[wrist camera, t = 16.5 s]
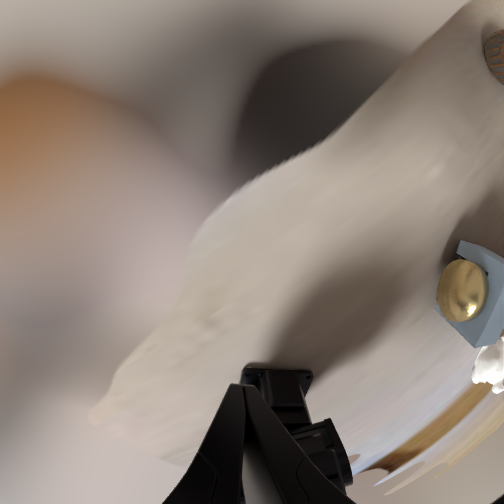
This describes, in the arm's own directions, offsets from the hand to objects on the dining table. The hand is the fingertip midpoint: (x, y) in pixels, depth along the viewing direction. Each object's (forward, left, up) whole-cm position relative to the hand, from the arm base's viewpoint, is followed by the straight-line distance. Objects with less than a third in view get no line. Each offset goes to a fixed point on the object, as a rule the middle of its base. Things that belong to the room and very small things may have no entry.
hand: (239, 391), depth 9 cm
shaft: (+2, -27, -10) cm, 29 cm away
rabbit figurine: (-8, -38, -12) cm, 41 cm away
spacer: (+2, -21, -11) cm, 24 cm away
